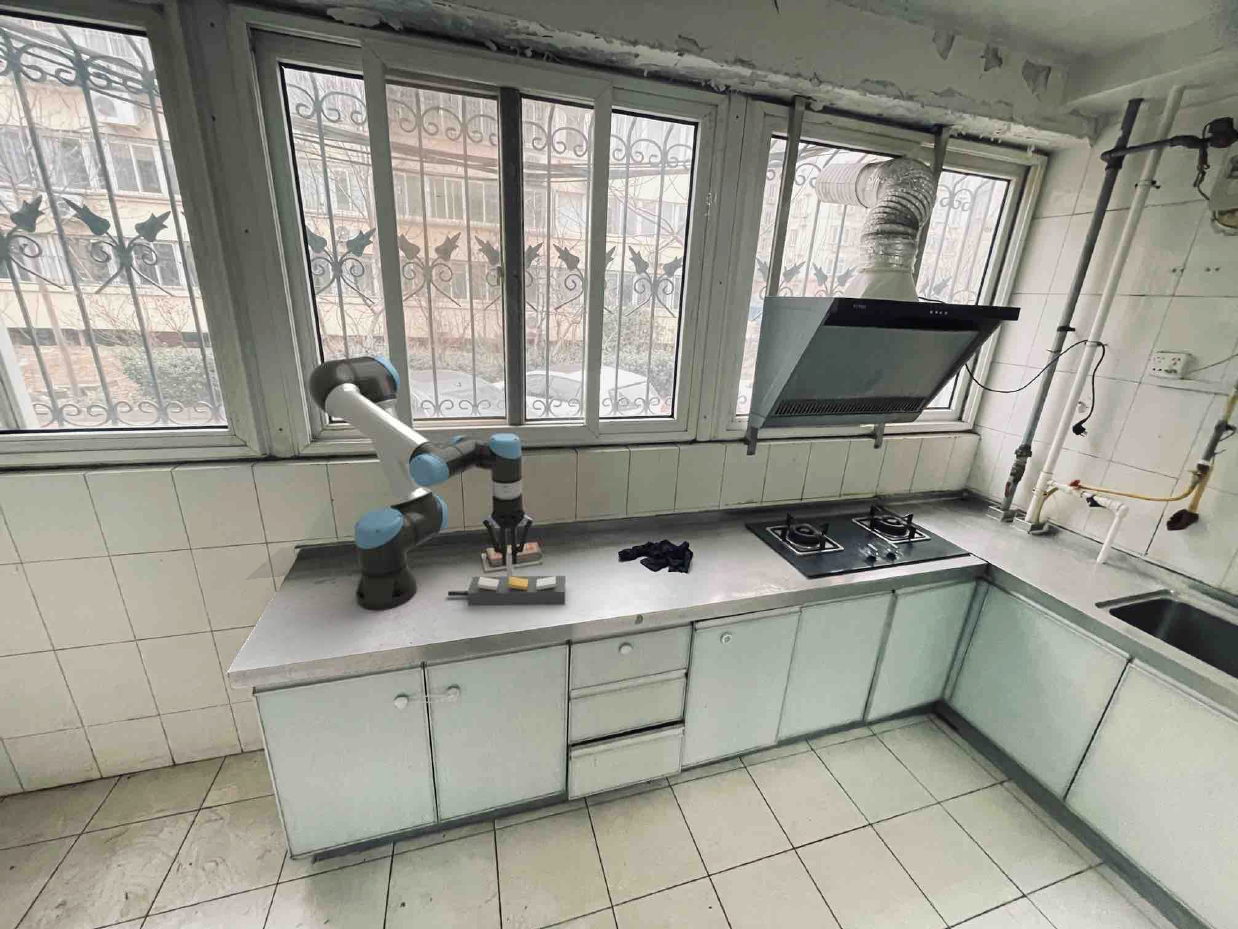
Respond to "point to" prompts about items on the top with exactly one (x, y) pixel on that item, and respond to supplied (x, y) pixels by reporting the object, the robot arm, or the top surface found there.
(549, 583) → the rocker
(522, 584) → the yellow box
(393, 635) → the top surface
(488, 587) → the white box
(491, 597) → the power strip
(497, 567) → the packaged product
